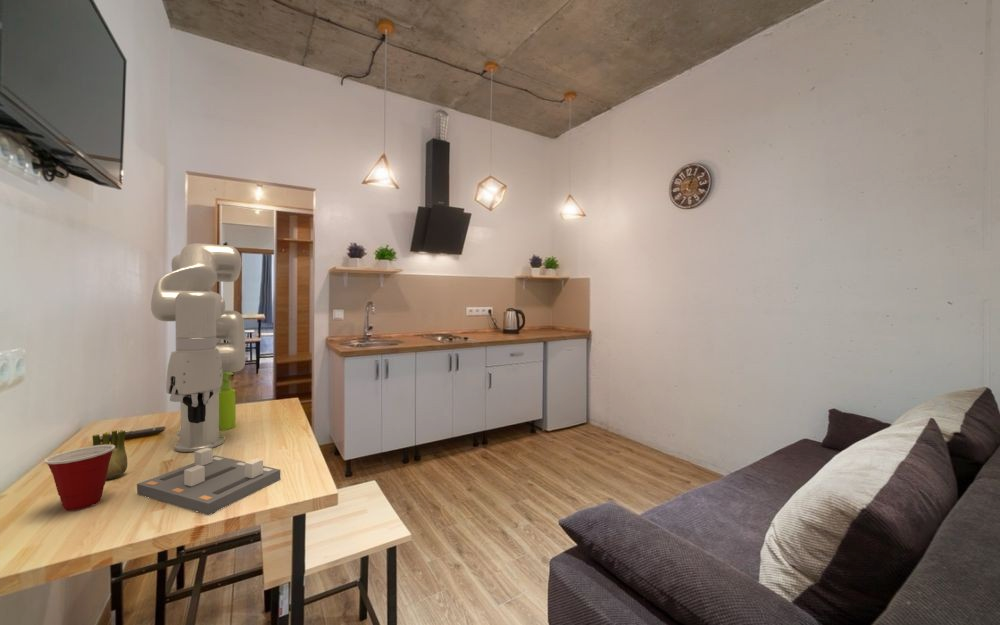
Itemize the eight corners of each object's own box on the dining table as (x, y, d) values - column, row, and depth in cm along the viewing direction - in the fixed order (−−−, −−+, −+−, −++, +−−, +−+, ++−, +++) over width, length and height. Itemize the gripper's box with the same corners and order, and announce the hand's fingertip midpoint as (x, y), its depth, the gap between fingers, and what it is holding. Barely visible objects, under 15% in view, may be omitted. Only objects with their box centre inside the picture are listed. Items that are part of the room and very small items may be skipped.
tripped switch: (184, 484, 92) (184, 470, 92) (197, 479, 94) (197, 464, 94) (191, 486, 91) (191, 471, 91) (204, 480, 94) (204, 466, 94)
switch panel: (137, 494, 92) (136, 483, 92) (214, 464, 109) (214, 454, 109) (208, 515, 84) (208, 503, 84) (280, 479, 101) (280, 469, 101)
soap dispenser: (221, 432, 134) (221, 374, 133) (212, 428, 138) (211, 371, 137) (240, 427, 139) (240, 371, 138) (230, 423, 143) (230, 369, 142)
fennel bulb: (89, 482, 97) (89, 434, 97) (105, 473, 102) (104, 428, 102) (117, 480, 98) (116, 433, 98) (131, 472, 103) (130, 427, 103)
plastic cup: (101, 488, 94) (100, 439, 94) (126, 498, 90) (125, 446, 90) (34, 510, 84) (33, 455, 84) (59, 522, 80) (58, 464, 80)
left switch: (194, 464, 102) (194, 451, 102) (206, 460, 105) (206, 447, 105) (200, 466, 101) (200, 453, 101) (212, 461, 104) (212, 448, 104)
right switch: (244, 476, 96) (244, 462, 96) (255, 471, 99) (256, 458, 99) (251, 478, 96) (251, 464, 95) (263, 473, 98) (263, 459, 98)
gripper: (216, 340, 100) (216, 411, 101) (148, 347, 86) (149, 429, 87) (238, 342, 98) (238, 414, 99) (172, 349, 84) (172, 434, 84)
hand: (196, 421), depth 93 cm, fingers closed
